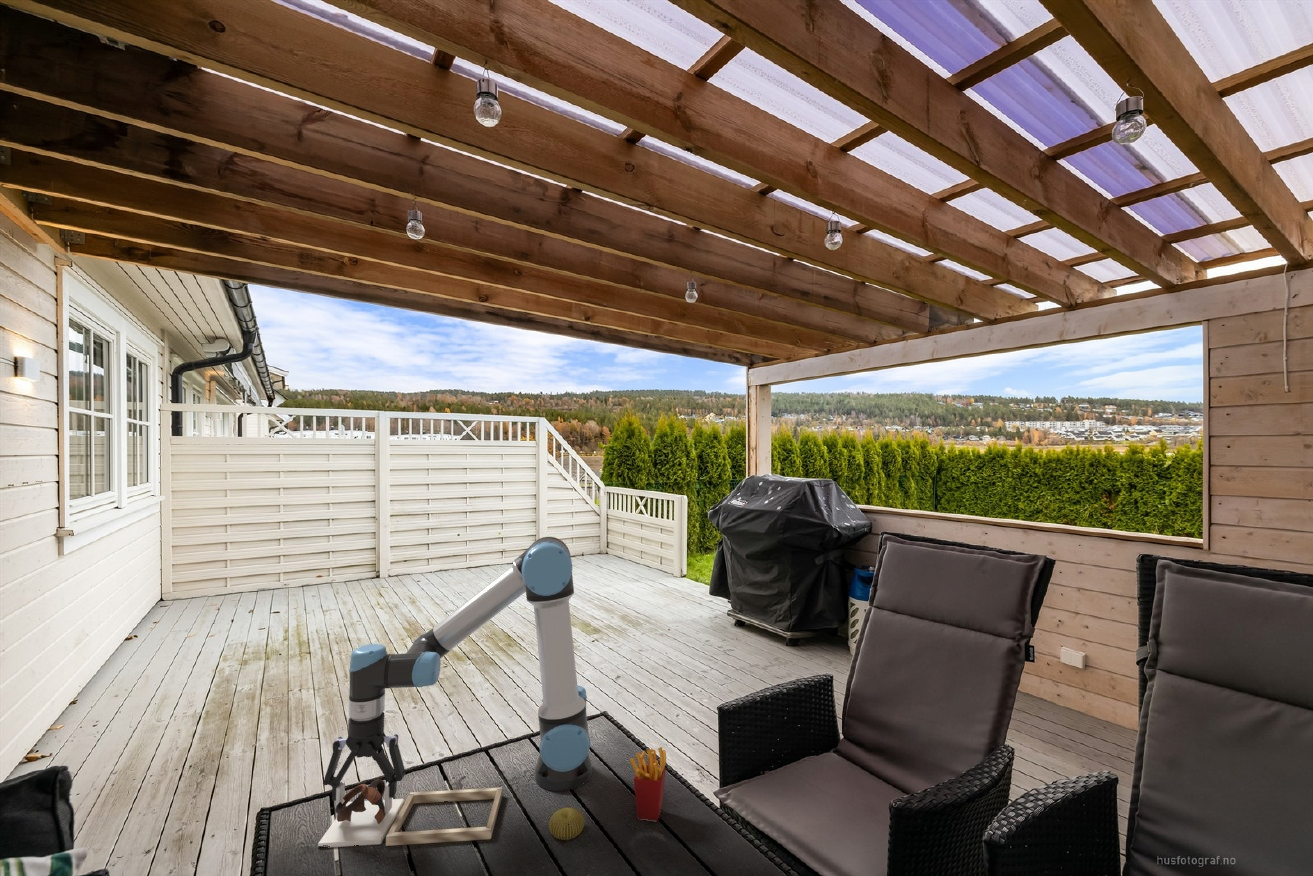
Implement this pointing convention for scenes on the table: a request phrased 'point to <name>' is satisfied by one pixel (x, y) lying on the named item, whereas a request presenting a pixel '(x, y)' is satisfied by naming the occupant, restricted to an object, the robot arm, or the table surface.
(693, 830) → the table surface
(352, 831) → the ceramic tile
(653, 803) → the french fries
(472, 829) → the frame
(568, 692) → the robot arm
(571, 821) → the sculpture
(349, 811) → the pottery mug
